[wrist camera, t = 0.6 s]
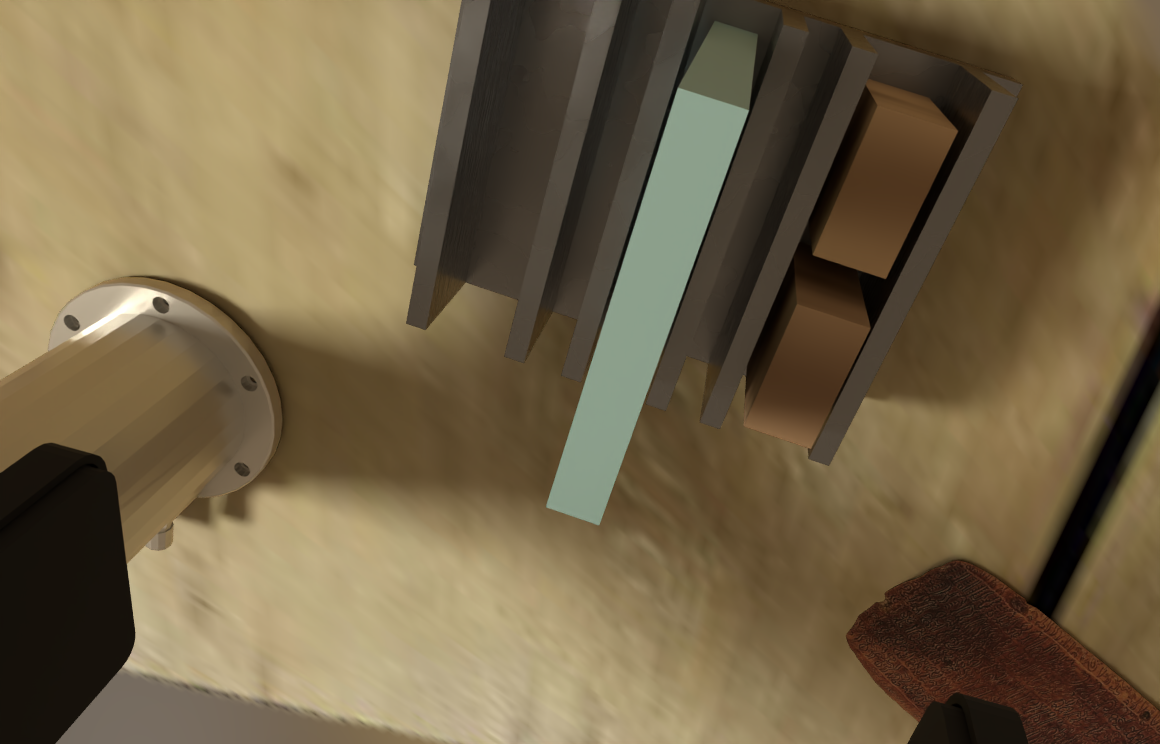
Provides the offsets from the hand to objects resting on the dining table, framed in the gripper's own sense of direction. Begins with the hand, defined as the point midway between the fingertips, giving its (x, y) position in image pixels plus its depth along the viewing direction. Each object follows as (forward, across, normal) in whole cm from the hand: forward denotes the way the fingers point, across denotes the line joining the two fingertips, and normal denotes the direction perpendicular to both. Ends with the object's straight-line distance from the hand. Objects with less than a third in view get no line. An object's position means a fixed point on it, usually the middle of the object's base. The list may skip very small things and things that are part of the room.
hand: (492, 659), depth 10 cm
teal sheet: (+26, 0, +2) cm, 27 cm away
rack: (+28, 0, +2) cm, 28 cm away
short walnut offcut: (+27, -6, -1) cm, 27 cm away
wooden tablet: (+29, -26, +26) cm, 47 cm away
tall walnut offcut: (+26, -6, +6) cm, 28 cm away
